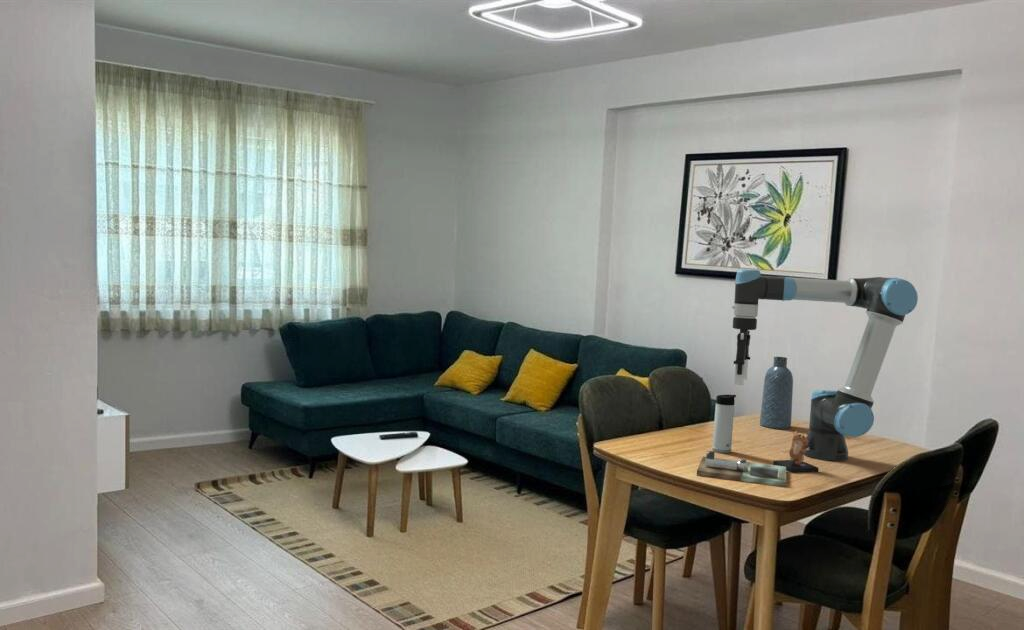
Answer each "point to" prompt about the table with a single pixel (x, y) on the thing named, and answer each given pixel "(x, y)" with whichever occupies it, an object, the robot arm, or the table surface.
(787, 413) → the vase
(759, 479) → the door board
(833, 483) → the table surface
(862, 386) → the robot arm
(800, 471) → the figurine
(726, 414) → the travel mug
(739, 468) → the bar
